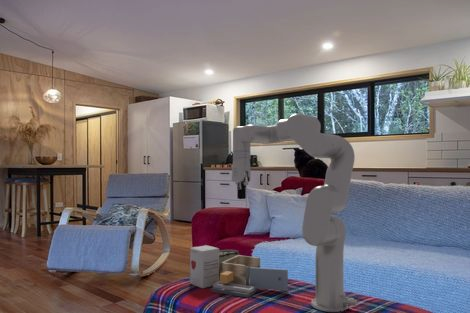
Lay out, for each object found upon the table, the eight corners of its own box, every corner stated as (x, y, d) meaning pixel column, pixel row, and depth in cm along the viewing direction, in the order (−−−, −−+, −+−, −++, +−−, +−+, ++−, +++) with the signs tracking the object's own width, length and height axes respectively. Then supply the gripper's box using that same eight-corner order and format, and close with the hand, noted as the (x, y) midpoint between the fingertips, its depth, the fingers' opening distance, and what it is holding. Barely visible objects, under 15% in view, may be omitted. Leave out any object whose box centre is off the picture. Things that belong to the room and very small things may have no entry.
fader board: (256, 291, 152) (256, 285, 152) (248, 297, 145) (248, 291, 145) (220, 286, 159) (220, 280, 159) (210, 291, 152) (210, 285, 152)
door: (287, 292, 151) (287, 270, 151) (245, 288, 155) (245, 267, 155) (287, 290, 153) (287, 268, 153) (246, 287, 157) (246, 266, 157)
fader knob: (233, 285, 155) (233, 271, 155) (227, 289, 151) (227, 274, 151) (226, 284, 157) (226, 270, 157) (219, 287, 152) (219, 273, 152)
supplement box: (189, 283, 162) (189, 247, 163) (206, 279, 168) (206, 244, 169) (202, 288, 156) (202, 251, 156) (219, 284, 162) (219, 247, 162)
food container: (230, 269, 185) (230, 248, 186) (239, 272, 180) (239, 250, 181) (209, 274, 177) (209, 251, 178) (217, 276, 173) (217, 254, 173)
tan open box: (260, 278, 170) (260, 257, 171) (244, 288, 156) (244, 265, 156) (237, 275, 175) (237, 255, 176) (220, 284, 161) (220, 262, 161)
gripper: (226, 156, 172) (226, 197, 171) (240, 155, 158) (240, 200, 158) (242, 156, 175) (242, 197, 174) (257, 155, 161) (257, 199, 161)
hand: (241, 198), depth 166 cm, fingers closed
